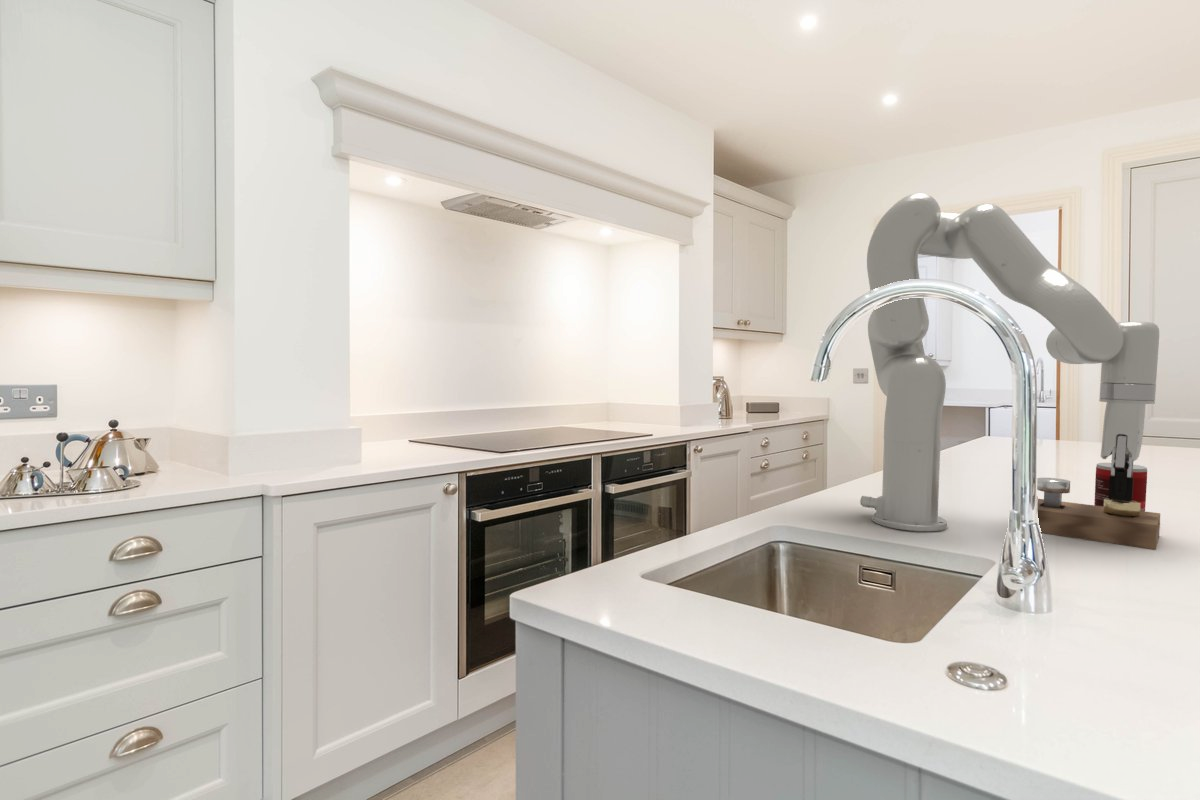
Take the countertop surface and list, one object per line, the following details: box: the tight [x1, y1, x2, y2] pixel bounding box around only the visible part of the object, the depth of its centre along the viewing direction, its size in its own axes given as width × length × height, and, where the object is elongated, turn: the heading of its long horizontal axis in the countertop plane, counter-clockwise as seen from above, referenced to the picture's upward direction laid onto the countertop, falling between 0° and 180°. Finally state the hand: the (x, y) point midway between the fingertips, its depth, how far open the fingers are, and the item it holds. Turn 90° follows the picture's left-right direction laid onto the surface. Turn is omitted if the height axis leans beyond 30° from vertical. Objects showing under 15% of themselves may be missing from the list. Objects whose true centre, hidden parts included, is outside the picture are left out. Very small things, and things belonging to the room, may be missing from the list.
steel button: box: [1036, 477, 1071, 509], centre depth 122 cm, size 5×5×6 cm
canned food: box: [1093, 462, 1148, 512], centre depth 126 cm, size 8×8×11 cm
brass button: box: [1103, 498, 1140, 517], centre depth 116 cm, size 5×5×6 cm
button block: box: [1037, 498, 1161, 550], centre depth 119 cm, size 20×12×4 cm, turn 48°
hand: (1120, 499), depth 116 cm, fingers closed
